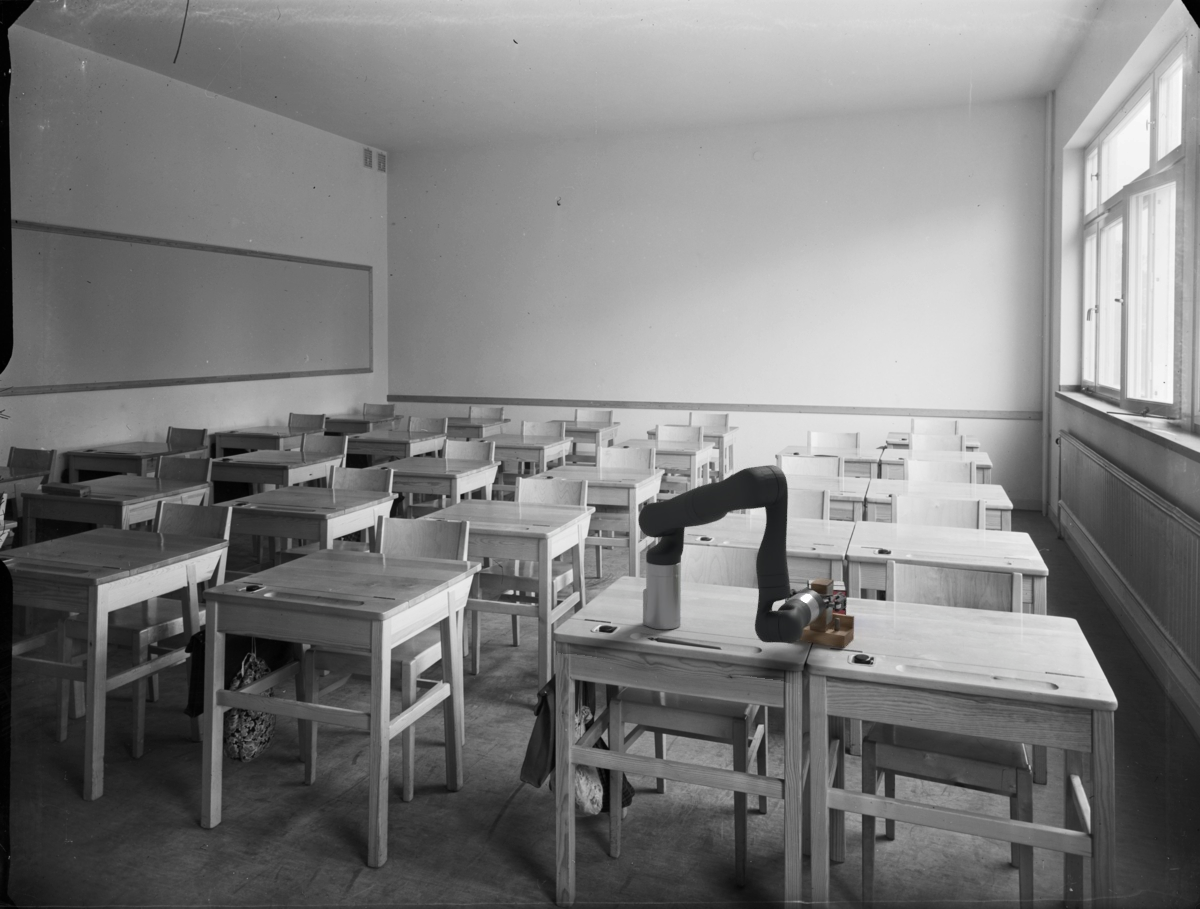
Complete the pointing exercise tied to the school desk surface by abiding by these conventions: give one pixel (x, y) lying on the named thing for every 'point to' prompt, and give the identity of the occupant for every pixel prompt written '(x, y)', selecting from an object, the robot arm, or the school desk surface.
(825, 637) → the wooden peg holder
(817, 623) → the wooden blocks
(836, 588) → the puzzle cube
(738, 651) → the school desk surface
